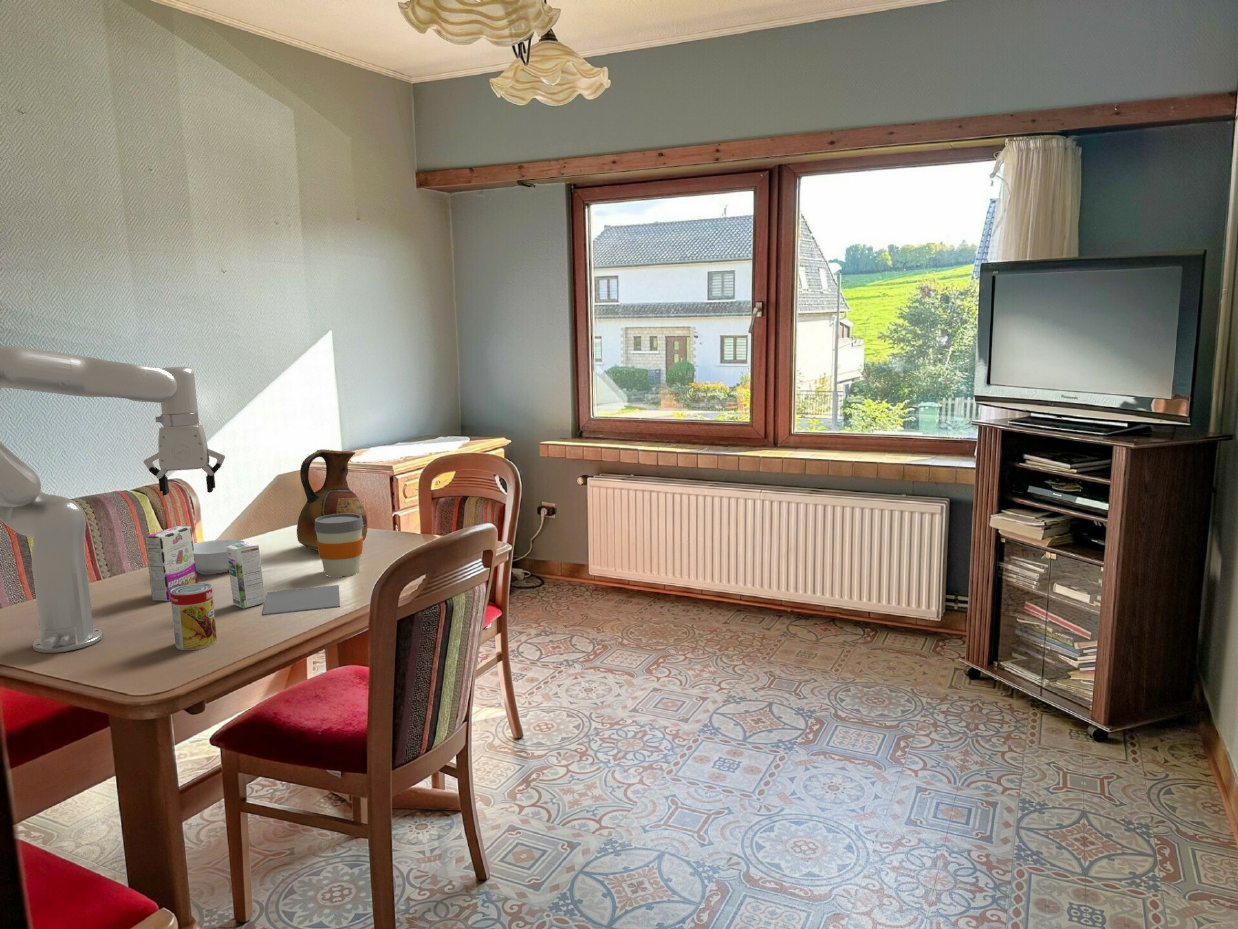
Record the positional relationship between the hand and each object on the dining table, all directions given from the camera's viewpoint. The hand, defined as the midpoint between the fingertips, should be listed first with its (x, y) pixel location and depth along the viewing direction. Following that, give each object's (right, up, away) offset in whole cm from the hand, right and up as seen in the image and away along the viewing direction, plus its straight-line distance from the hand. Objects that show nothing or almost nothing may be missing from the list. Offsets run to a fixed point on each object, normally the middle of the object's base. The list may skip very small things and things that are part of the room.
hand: (188, 493), depth 207 cm
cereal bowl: (-10, -23, +35) cm, 43 cm away
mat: (+24, -26, +7) cm, 36 cm away
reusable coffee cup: (+26, -23, +31) cm, 47 cm away
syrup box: (+13, -27, +5) cm, 30 cm away
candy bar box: (-10, -26, +13) cm, 31 cm away
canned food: (+12, -31, -21) cm, 40 cm away
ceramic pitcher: (+16, -19, +58) cm, 62 cm away
